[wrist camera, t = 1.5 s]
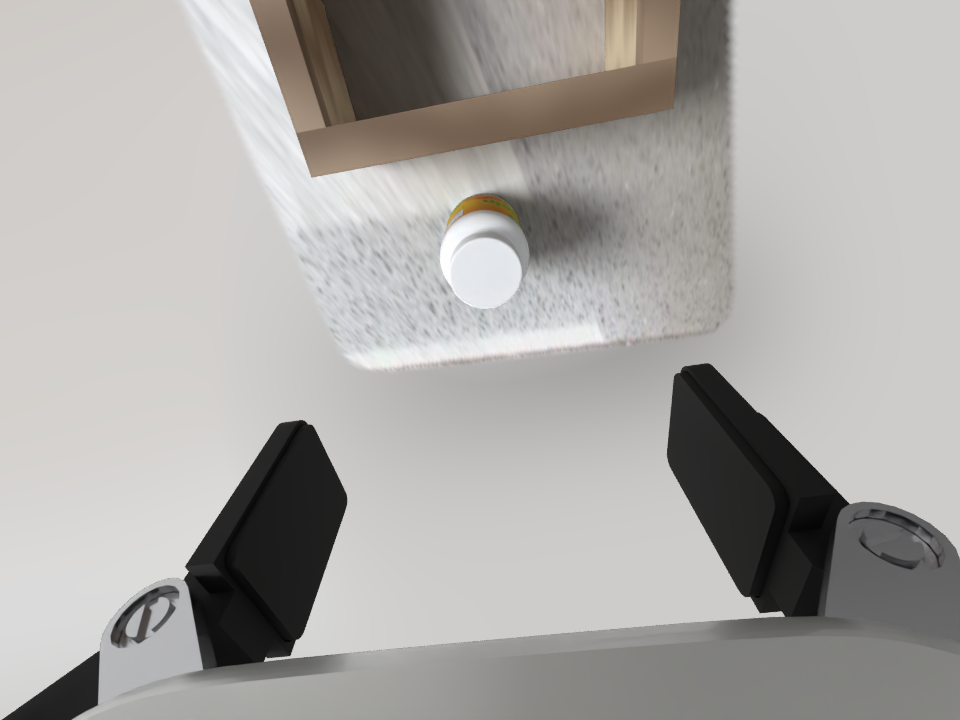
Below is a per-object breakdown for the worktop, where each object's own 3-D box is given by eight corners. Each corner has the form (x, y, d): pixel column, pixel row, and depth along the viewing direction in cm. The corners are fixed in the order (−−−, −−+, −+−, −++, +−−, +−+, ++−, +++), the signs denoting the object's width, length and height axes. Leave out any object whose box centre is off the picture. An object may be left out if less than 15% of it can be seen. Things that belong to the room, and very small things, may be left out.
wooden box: (279, -86, 21) (185, -182, 14) (624, -171, 20) (702, -323, 13) (352, 162, 27) (311, 177, 21) (621, 111, 26) (673, 108, 19)
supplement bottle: (534, 221, 30) (557, 262, 21) (491, 279, 32) (497, 337, 23) (473, 176, 28) (472, 200, 20) (433, 240, 30) (416, 287, 22)
